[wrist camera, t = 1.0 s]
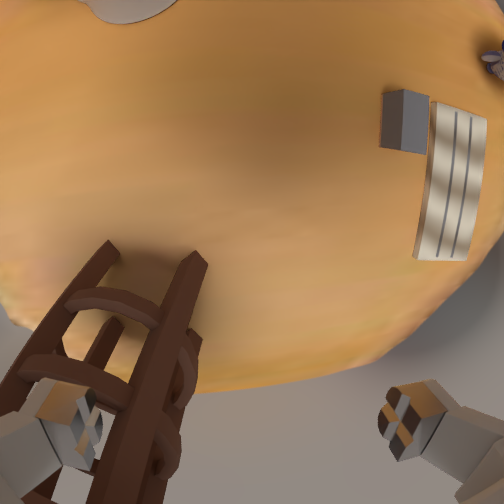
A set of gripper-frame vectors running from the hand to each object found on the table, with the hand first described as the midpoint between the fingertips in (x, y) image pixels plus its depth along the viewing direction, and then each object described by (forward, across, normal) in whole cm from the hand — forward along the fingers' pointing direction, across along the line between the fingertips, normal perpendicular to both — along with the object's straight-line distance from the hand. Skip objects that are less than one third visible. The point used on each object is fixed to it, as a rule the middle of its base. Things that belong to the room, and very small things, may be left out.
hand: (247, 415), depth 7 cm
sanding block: (+29, -20, -15) cm, 38 cm away
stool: (+34, +10, +11) cm, 37 cm away
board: (+29, -31, -8) cm, 43 cm away
